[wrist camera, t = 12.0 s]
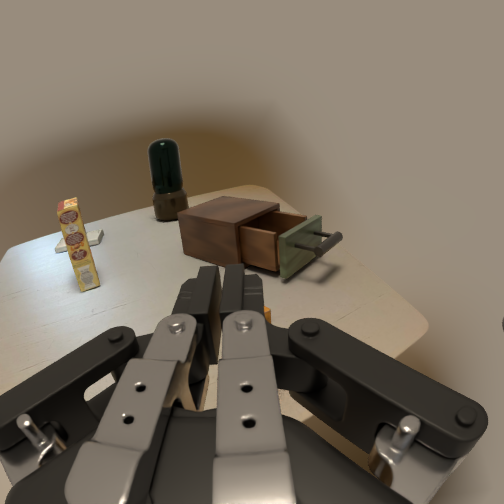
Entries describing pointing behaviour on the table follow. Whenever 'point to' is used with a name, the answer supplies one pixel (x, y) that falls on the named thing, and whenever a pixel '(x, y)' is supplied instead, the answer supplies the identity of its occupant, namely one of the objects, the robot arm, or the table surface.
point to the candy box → (77, 244)
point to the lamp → (166, 179)
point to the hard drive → (92, 238)
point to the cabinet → (219, 228)
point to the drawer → (284, 241)
